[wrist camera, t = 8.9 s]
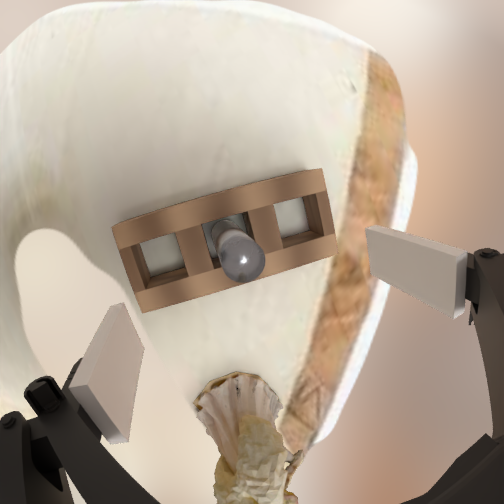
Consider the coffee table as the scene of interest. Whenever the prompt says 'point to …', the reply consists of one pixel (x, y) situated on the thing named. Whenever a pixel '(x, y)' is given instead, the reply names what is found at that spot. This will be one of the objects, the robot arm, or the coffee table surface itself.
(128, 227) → the hole block
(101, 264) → the coffee table surface
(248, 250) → the peg
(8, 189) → the coffee table surface
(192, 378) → the coffee table surface
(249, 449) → the figurine
